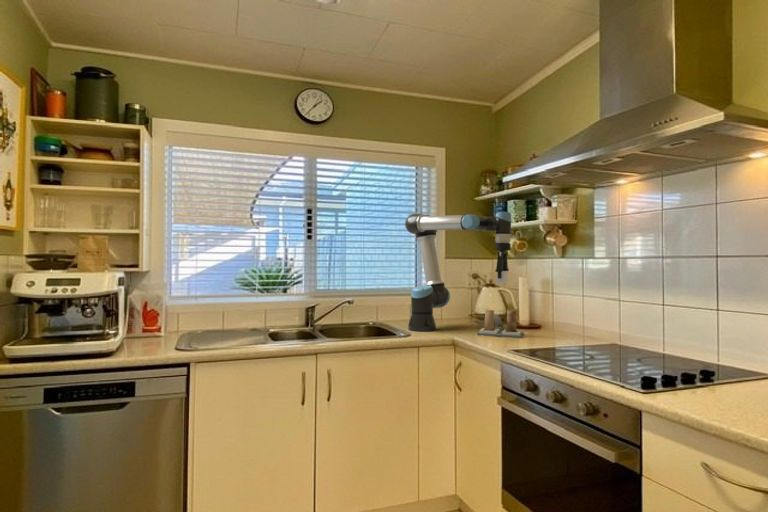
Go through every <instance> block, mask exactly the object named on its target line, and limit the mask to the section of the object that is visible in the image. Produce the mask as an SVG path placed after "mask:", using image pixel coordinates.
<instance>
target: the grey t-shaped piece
mask: <svg viewBox="0 0 768 512" xmlns="http://www.w3.org/2000/svg"><path fill="white" fill-rule="evenodd" d="M494 314H495V311H494V310H493V309H485V310H484V319H485V326H484V327H483V328H481V329H480V330H479V331H478V332H477V334H476V335H477V336H481V335H483V337H484V336H485V337H500V338H513V339H522V338H523V337H524V335H525V333H524V332H522V329H521V330H520V329H516V330H517V332H507V328H504V330H499V329H494Z"/></svg>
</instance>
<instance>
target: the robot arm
mask: <svg viewBox="0 0 768 512" xmlns="http://www.w3.org/2000/svg"><path fill="white" fill-rule="evenodd" d="M404 227H405V229H406V231H408V232H409V233H411V234H413V235H415V237H416V238H415V239H416V240H417V241H418V242H419V245H420V251H421V252H420V253H421V259H422V264H423V265H422V266H423V271H424V272H423V273H424V277H425V283H424V285H417V286H413V287H412V288H411V292H410V293H411V294H410V298H411V299H410V300H411V301H410V309H411V316H410V319H409V322H408V325H407V329H408V330H410V331H414V332H433V331H436V330H437V324H436V321H435V318H434V314H433V313H434V312H433V311H434V309H439V308H442V307H443V308H444V307H445V306H446V305H448V303H449V302H450V298H451V294H450V291H449V289H448V288H446V285H445V282H444V281H443V280H442V278H441V271H440V266H439V261H438V259H439V258H438V254H437V249H436V242H435V239H436V238H437V232H438V231H462V230H463V231H469V230H470V231H475V232H495V234H494V235H495V239H494V240H495V245H494V246H495V247H494V249H495V251H497V258H496V259H497V260H496V267H495V268H496V269H495V270H494V271H495V273H496V286H503V285H506V284H507V285H508V272H509V270H510V269H509V267H508V251H511V240H512V239H511V238H513V236H511V233H512V232H511V231H512V214H511V213H510V212H509V211H498V212H496V213H495V215H494V216H484V215H476V214H472V213H470V214H464V215H463V214H460V215H459V214H456V215H455V214H454V215H452V214H451V215H429V214H420V213H411V214H410V215H408V216H407V217H406V219H405V222H404Z"/></svg>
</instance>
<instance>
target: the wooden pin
mask: <svg viewBox="0 0 768 512" xmlns="http://www.w3.org/2000/svg"><path fill="white" fill-rule="evenodd" d="M506 326H507V327H506V330H507V332H517V330H518V329H517V311H516V310H507V311H506Z"/></svg>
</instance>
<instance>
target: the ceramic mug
mask: <svg viewBox="0 0 768 512" xmlns="http://www.w3.org/2000/svg"><path fill="white" fill-rule="evenodd" d="M502 322H503V321H502V318H501V317H500V316H499V315H498V314H495V313H494V329H499V331H503V330H505V329H506V327H505V326H504V325H503V324H502ZM482 323H483V326H484V327H485V318H484V319H483V322H482Z"/></svg>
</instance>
